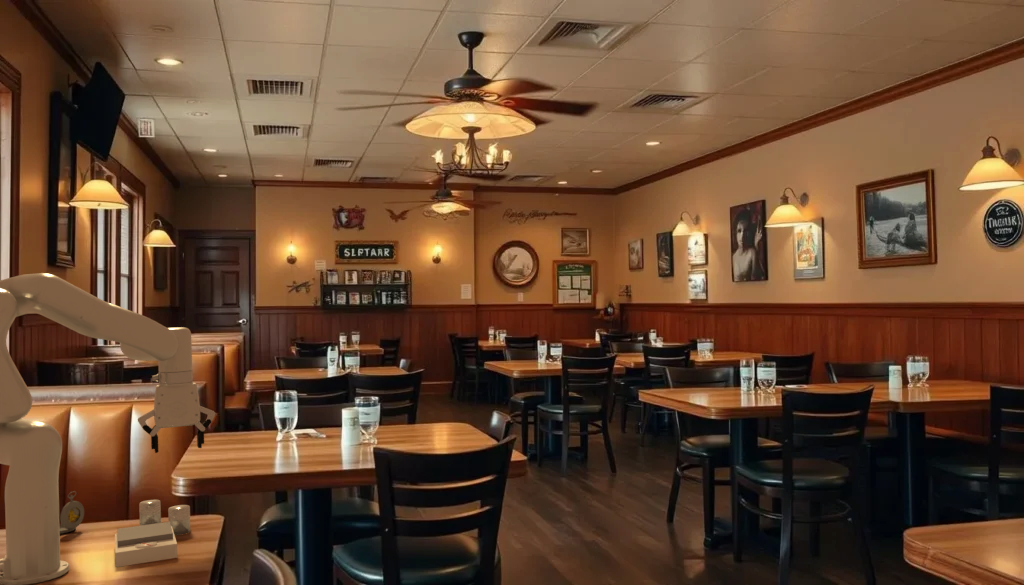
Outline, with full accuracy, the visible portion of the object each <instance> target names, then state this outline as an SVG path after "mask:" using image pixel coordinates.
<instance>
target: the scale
mask: <svg viewBox="0 0 1024 585" xmlns="http://www.w3.org/2000/svg"><path fill="white" fill-rule="evenodd" d="M116 530H117V531H116V533H114V550H115V551H114V552H115V553H114V555H115V568H119V567H125V566H130V565H131V566H132V565H138V564H144V563H145V564H146V563H151V562H157V561H164V560H170V559H175V558H176V559H177V558H178V542H177V539H176V535H174V532H173V528H172V526H171V525H170V522H169V521H164V522H161V523H156V524H149V525H142V526H140V525H136V526H129V527H128V526H127V527H122V528H117V529H116Z"/></svg>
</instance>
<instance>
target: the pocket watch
mask: <svg viewBox="0 0 1024 585" xmlns="http://www.w3.org/2000/svg"><path fill="white" fill-rule="evenodd" d="M72 493H75V494H74V495H73V494H72ZM76 495H77V491H75V490H73V491H70V492H69V493H68V495H67V498H68V499H69V500H70V501H69V502H67V503H66V504H65V505H64V506H63V507H62V509H61V512H60V514H59V522H60V535H62V534H66V533H69V532H70V533H71V532H73V531H75V530H76V529H77V528H78V527H79V526H80V525H81V523H82V522H83V520H84V517H85V508H84V506H83V504H82V503H81V502H80V501H78V500H74V497H76Z"/></svg>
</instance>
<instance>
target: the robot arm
mask: <svg viewBox="0 0 1024 585" xmlns="http://www.w3.org/2000/svg"><path fill="white" fill-rule="evenodd" d="M28 314H37V315H41V317H42V316H43V317H45V318H47V319H49V320H51V321H52V322H56V323H57V324H58V325H59V324H60V325H62V326H64V327H66V328H68V329H69V330H72V331H74V332H76V333H77V334H80V335H82V336H85V337H89V338H93V339H98V340H106V341H110V342H115V343H119V344H120V350H121V353H122V354H123V355H124V356H125V357H126V358H128V359H130V360H134V361H142V362H145V361H146V362H148V361H149V362H150V361H152V362H153V361H154V362H157V363H158V373H157V374H154V375H151V376H152V379H151V380H152V382H157V383H158V384H157V385H156V386H155V391H154V401H153V404H154V405H153V409H152V410H150V411H147V413H145V414H143V415H141V416H140V417H138V418H137V422H138V424H139V425H140V427H141V428H142V430H143V431H145V433H147V434H148V435H150V441H151V442H150V443H151V450H154V453H155V454H158V453H159V436H158V432H159V431H160V430H161V429H167V428H176V427H177V428H178V427H189V426H195V427H196V428H197V430H196V439H197V440H196V441H197V442H196V446H197V448H198V449H202V445H204V444H205V430H206V429H207V428H208V427H209V426H210V425H211V424H212V421H213V419H214V417H215V415H216V412H215V411H214V410H212V409H210V408H207V407H204V406H201V405H200V395H199V389H198V385H197V383H196V382H194V381H193V379H194V377H193V353H192V352H193V348H192V346H193V345H192V332H191V330H190V329H189V328H188V327H184V326H183V327H182V326H181V327H178V326H177V327H166V326H164V325H163V324H161V323H159V322H158V321H156V320H154V319H151V317H147V316H145V315H142V314H141V313H137V312H135V311H132V310H129V309H127V308H124V307H122V306H119V305H117V304H113V303H110V302H108V301H105V300H103V299H101V298H100V297H97V296H95V295H93V294H91V293H90V292H88V291H86V290H84V289H82V288H80V287H79V286H77V285H74V284H72V283H71V282H69V281H67V280H65V279H63V278H61V277H60V276H57V275H55V274H51V273H44V272H41V273H40V272H39V273H29V274H28V273H27V274H21V275H20V274H19V275H16V276H13V277H9V278H5V279H0V464H1V465H4V466H8V467H9V468H8V473H7V476H6V480H5V484H4V510H5V511H4V512H5V548H6V550H5V552H6V553H5V555H4V557H2V558H1V557H0V584H1V585H32V584H38V583H43V582H47V581H50V580H54V579H56V578H59V577H61V576H63V575H66V573H67V572H68V571H69V570H70V563H69V562H67V561H65V560H61V534H60V525H61V523H60V494H59V493H60V492H59V491H60V490H59V474H60V465H61V459H62V453H63V439H62V436H61V434H60V432H59V431H58V430H57V429H56V427H54V426H53V425H52V424H50V423H47V422H44V421H40V420H32V419H23V418H25V417H26V416H27V415H28V414H29V413H30V411H31V409H32V406H33V397H32V394H31V391H30V389H29V388H28V386H27V384H26V382H25V381H24V378H23V377H22V375H21V373H20V372H19V370H18V368H17V366H16V364H15V362H14V361H13V359H12V357H11V354H10V352H9V350H8V346H7V336H8V334H9V331H10V328H11V327H12V325H13V323H14V321H15V319H16V318H17V317H20V316H23V315H28ZM201 413H203V414H205V415H207V417H206V419H205V420H204V421H203V422H202V423H201V422H200V421H201ZM151 418H154V426H153V427H150V426H149V425H148V424H147V422H146V421H147V420H149V419H151Z"/></svg>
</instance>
